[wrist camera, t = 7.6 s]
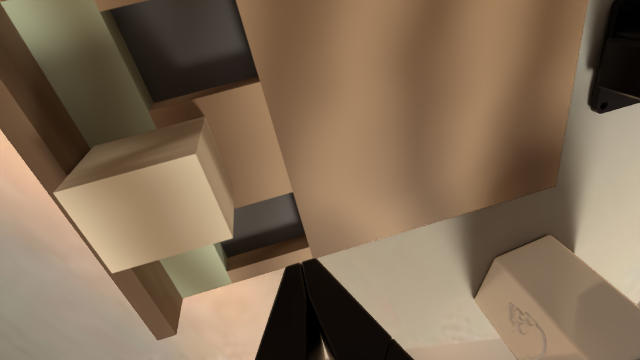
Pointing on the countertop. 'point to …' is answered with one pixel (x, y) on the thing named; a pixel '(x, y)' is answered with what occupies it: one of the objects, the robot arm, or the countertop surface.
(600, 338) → the jar
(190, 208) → the block
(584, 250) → the countertop surface
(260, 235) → the board
